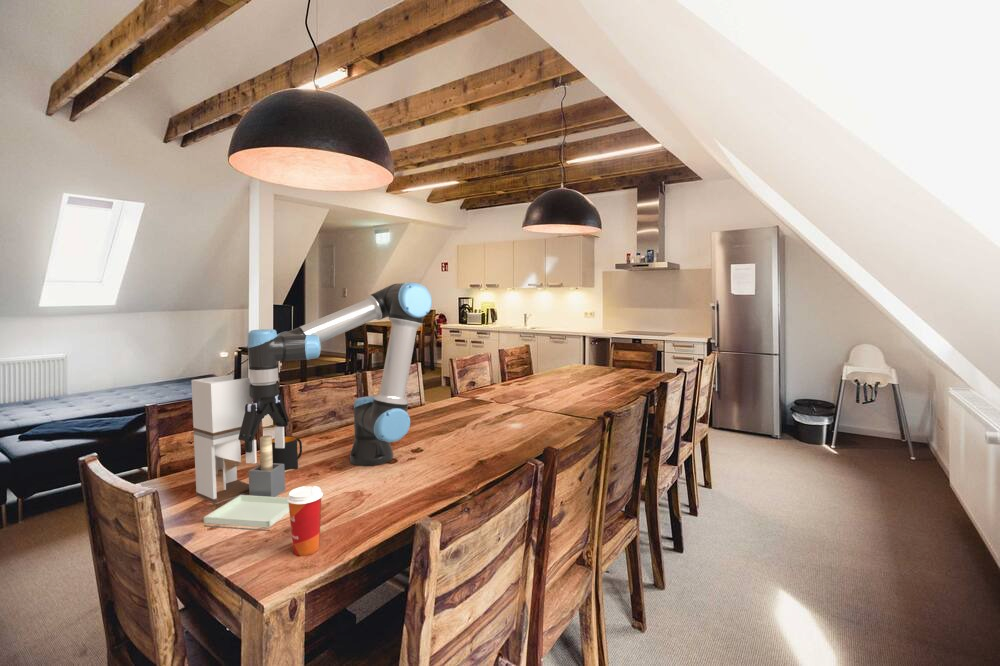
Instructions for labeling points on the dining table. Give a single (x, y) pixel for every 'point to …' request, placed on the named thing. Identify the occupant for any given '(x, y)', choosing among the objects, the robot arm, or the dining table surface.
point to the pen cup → (267, 481)
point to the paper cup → (305, 519)
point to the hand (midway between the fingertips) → (266, 455)
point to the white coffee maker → (218, 435)
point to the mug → (287, 453)
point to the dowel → (266, 453)
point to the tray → (249, 512)
